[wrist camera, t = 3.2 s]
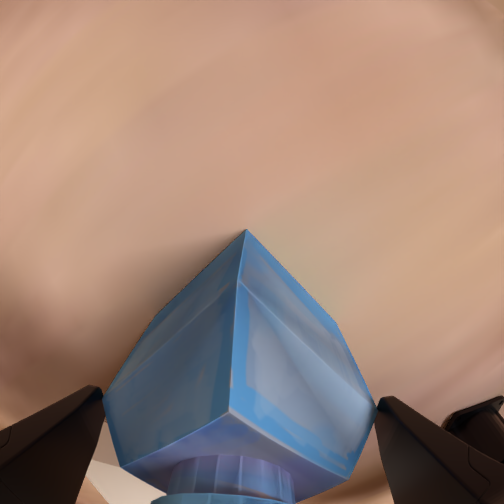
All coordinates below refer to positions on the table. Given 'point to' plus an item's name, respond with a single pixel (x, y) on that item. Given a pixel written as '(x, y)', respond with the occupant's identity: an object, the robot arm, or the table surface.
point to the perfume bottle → (240, 390)
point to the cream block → (117, 476)
